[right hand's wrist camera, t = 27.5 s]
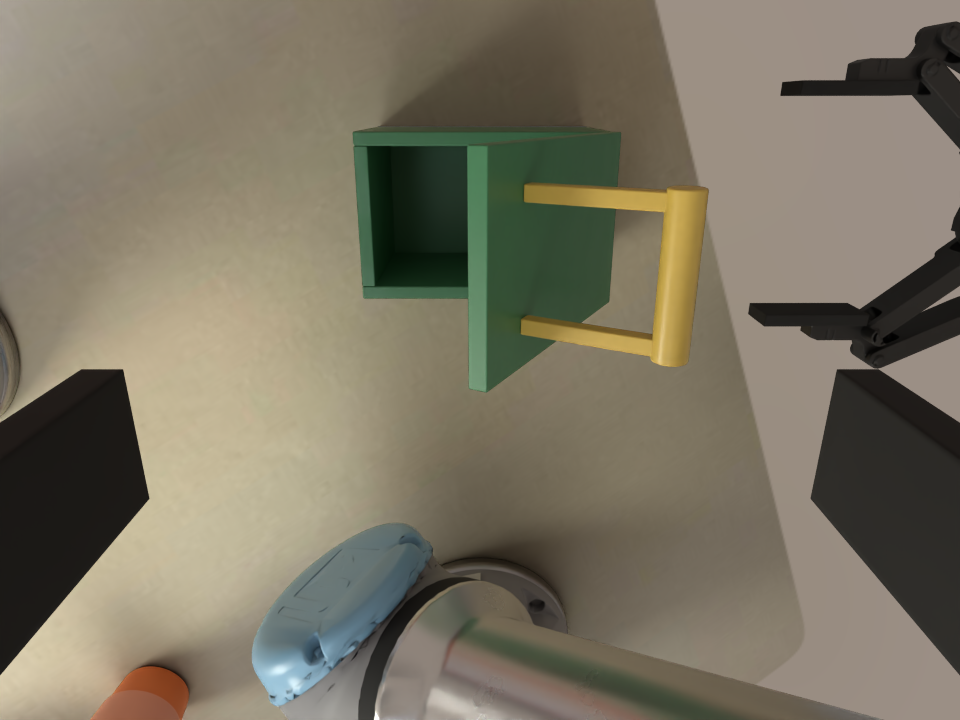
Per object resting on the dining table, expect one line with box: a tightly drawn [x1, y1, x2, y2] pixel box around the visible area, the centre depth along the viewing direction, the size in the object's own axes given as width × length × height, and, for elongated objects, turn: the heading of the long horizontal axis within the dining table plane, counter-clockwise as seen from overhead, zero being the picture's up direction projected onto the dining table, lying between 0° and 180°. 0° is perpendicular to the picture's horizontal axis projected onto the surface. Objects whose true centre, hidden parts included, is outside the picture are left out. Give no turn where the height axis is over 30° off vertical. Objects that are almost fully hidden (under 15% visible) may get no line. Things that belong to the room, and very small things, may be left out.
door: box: [467, 132, 709, 392], centre depth 29 cm, size 15×9×8 cm
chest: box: [353, 126, 610, 299], centre depth 42 cm, size 14×9×10 cm, turn 90°
